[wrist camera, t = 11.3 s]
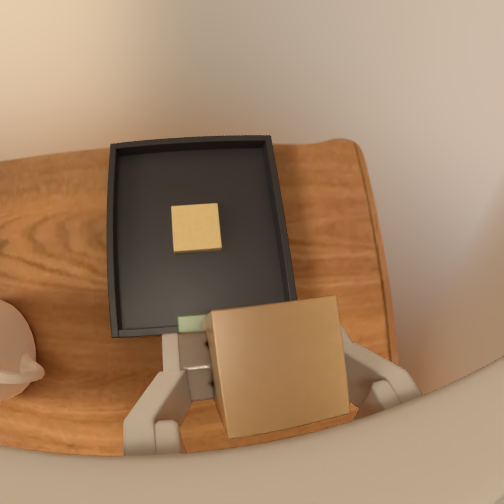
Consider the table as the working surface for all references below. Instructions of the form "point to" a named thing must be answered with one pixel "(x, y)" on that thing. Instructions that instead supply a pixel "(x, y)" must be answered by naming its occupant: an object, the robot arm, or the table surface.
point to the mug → (16, 353)
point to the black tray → (161, 235)
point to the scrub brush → (275, 364)
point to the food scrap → (196, 228)
